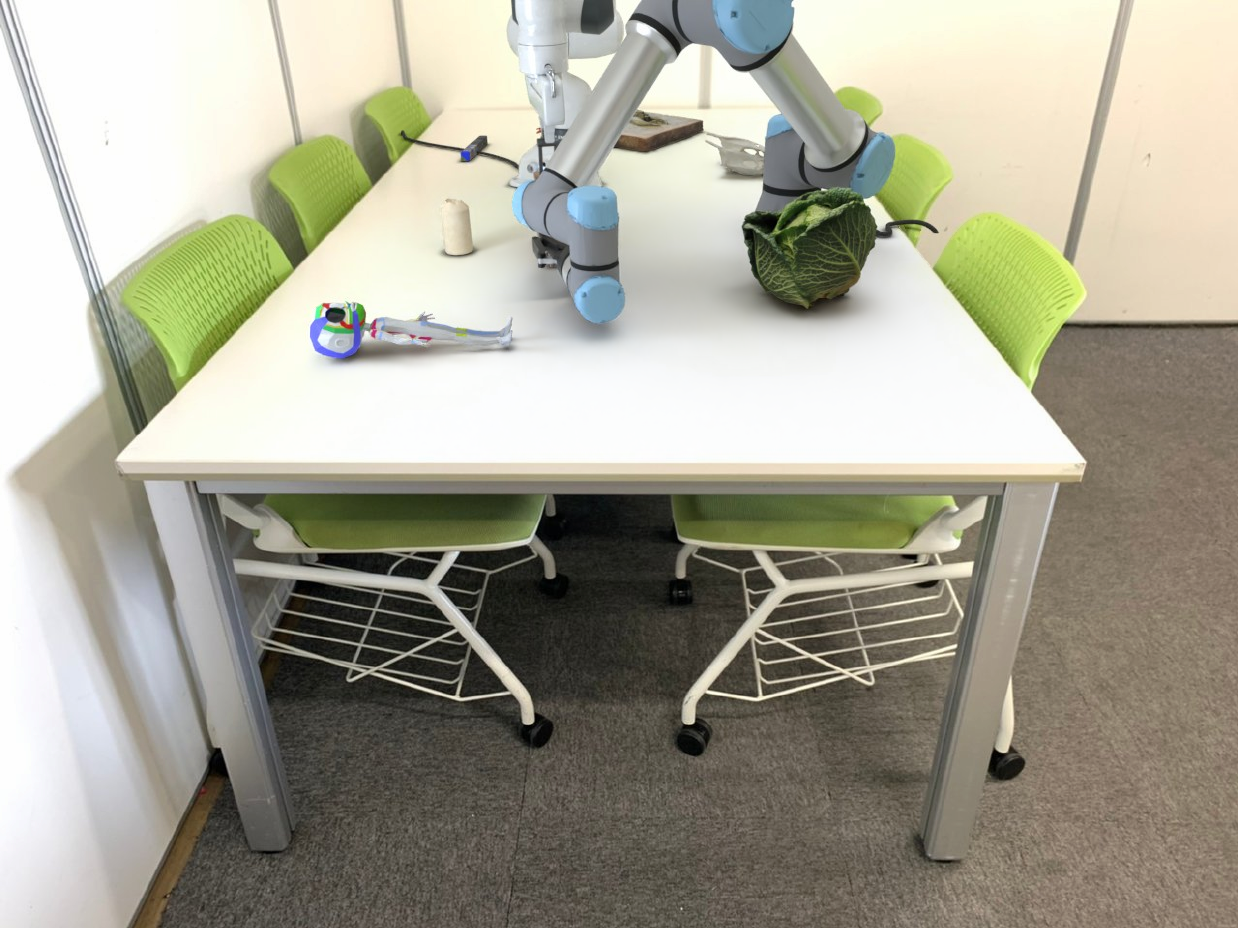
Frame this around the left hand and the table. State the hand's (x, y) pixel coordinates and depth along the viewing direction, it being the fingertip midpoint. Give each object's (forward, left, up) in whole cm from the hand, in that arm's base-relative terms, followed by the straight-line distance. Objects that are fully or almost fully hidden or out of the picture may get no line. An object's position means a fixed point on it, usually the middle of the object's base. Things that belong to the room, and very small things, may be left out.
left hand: (548, 140), depth 167 cm
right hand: (+6, -6, -14) cm, 16 cm away
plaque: (-34, +91, -20) cm, 100 cm away
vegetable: (+54, -3, -20) cm, 57 cm away
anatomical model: (+14, +69, -20) cm, 73 cm away
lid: (+3, -3, -9) cm, 10 cm away
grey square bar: (-62, +54, -20) cm, 85 cm away
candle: (-14, -12, -20) cm, 27 cm away
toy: (+9, -51, -20) cm, 55 cm away
